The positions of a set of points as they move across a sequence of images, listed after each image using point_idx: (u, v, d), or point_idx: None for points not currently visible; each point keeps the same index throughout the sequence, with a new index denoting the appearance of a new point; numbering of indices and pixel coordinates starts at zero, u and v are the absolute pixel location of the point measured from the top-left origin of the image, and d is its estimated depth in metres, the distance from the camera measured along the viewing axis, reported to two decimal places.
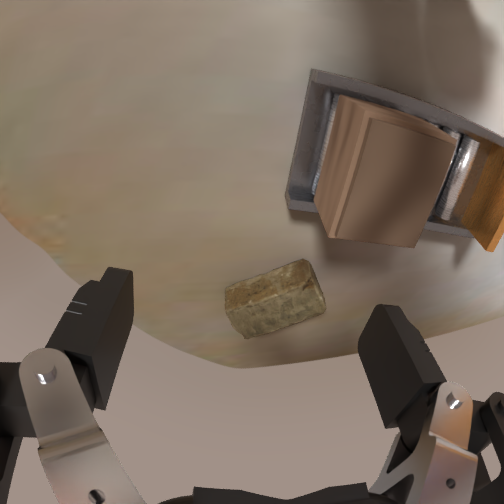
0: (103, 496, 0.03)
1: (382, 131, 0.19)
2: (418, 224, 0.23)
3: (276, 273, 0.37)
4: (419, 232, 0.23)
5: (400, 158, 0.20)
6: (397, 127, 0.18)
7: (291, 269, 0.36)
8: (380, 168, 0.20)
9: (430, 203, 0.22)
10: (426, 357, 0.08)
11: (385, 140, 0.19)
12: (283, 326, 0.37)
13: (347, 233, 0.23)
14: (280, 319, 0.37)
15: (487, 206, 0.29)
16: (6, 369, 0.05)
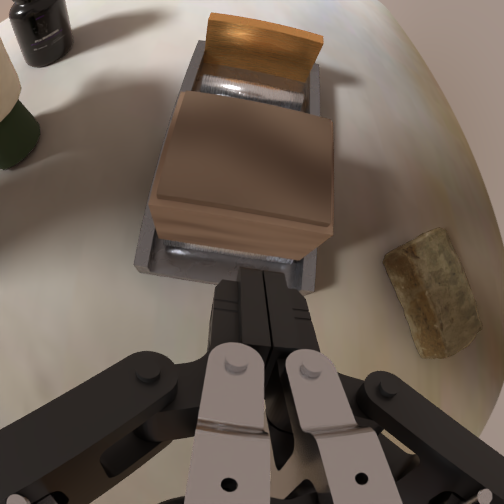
0: (231, 487, 0.04)
1: (171, 179, 0.16)
2: (297, 118, 0.18)
3: (401, 294, 0.27)
4: (308, 115, 0.19)
5: (206, 152, 0.17)
6: (166, 161, 0.16)
7: (395, 275, 0.27)
8: (223, 175, 0.17)
9: (265, 108, 0.18)
10: (292, 322, 0.08)
11: (183, 174, 0.16)
12: (465, 280, 0.24)
13: (322, 209, 0.17)
14: (457, 284, 0.24)
15: (275, 53, 0.28)
16: (177, 371, 0.07)
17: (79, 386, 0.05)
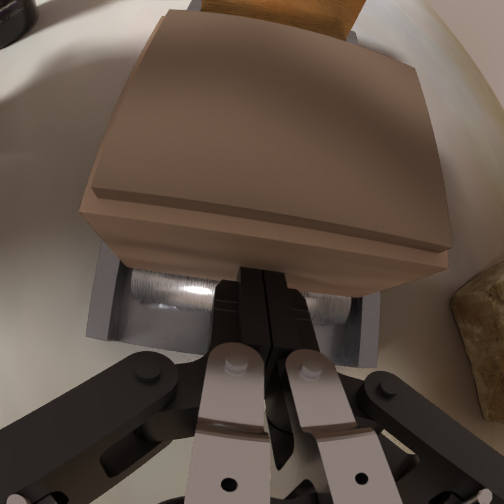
0: (231, 487, 0.04)
1: (126, 154, 0.07)
2: (366, 57, 0.09)
3: (473, 348, 0.17)
4: (381, 57, 0.09)
5: (204, 98, 0.08)
6: (117, 119, 0.07)
7: (468, 323, 0.17)
8: (241, 144, 0.07)
9: (312, 36, 0.09)
10: (292, 322, 0.08)
11: (153, 142, 0.07)
12: None
13: (436, 218, 0.08)
14: None
15: (299, 12, 0.18)
16: (178, 371, 0.07)
17: (79, 386, 0.05)
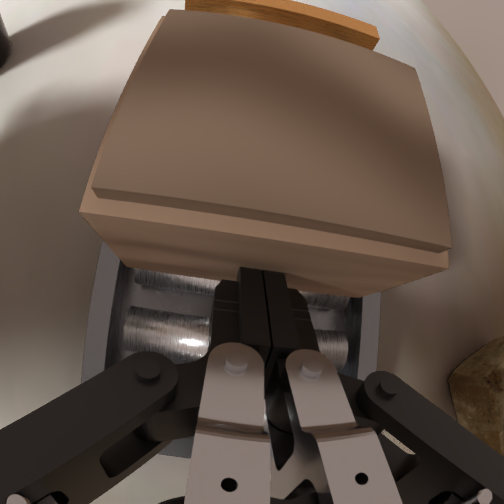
0: (231, 487, 0.04)
1: (126, 154, 0.07)
2: (366, 58, 0.09)
3: (465, 423, 0.15)
4: (382, 57, 0.09)
5: (204, 99, 0.08)
6: (118, 119, 0.07)
7: (463, 401, 0.15)
8: (241, 144, 0.07)
9: (312, 36, 0.09)
10: (292, 322, 0.08)
11: (153, 142, 0.07)
12: None
13: (436, 219, 0.08)
14: None
15: None
16: (177, 371, 0.07)
17: (79, 386, 0.05)
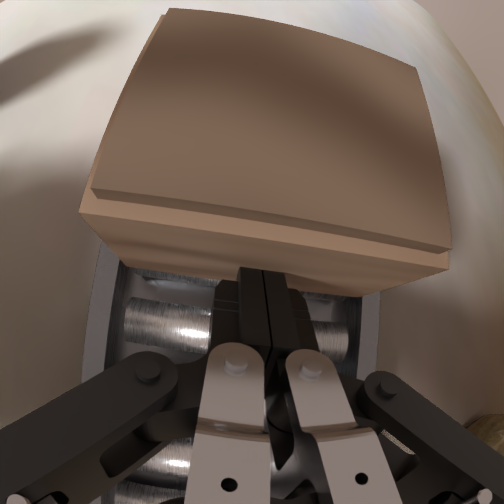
0: (231, 487, 0.04)
1: (126, 155, 0.07)
2: (367, 57, 0.09)
3: None
4: (382, 56, 0.09)
5: (204, 98, 0.07)
6: (117, 119, 0.07)
7: None
8: (241, 144, 0.07)
9: (313, 36, 0.09)
10: (292, 322, 0.08)
11: (153, 143, 0.07)
12: None
13: (436, 220, 0.08)
14: None
15: None
16: (178, 371, 0.07)
17: (79, 386, 0.05)
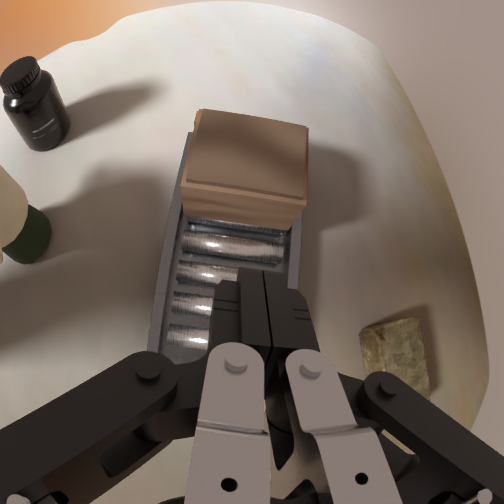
0: (231, 487, 0.04)
1: (196, 169, 0.24)
2: (281, 126, 0.27)
3: (366, 365, 0.31)
4: (289, 124, 0.27)
5: (218, 151, 0.25)
6: (191, 158, 0.25)
7: (365, 348, 0.31)
8: (230, 166, 0.25)
9: (259, 120, 0.26)
10: (292, 322, 0.08)
11: (204, 166, 0.24)
12: (425, 366, 0.28)
13: (297, 187, 0.25)
14: (415, 368, 0.28)
15: None
16: (178, 371, 0.07)
17: (79, 386, 0.05)
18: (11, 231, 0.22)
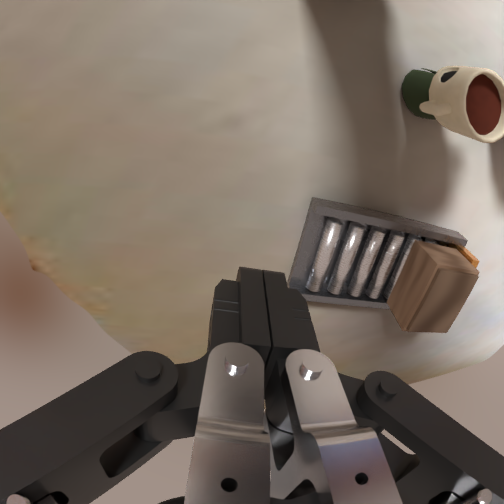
0: (231, 487, 0.04)
1: (443, 275, 0.33)
2: (451, 320, 0.36)
3: None
4: (451, 324, 0.37)
5: (449, 287, 0.34)
6: (451, 272, 0.32)
7: None
8: (438, 294, 0.34)
9: (459, 308, 0.35)
10: (292, 322, 0.08)
11: (444, 280, 0.33)
12: None
13: (414, 328, 0.36)
14: None
15: None
16: (178, 371, 0.07)
17: (79, 386, 0.05)
18: (442, 121, 0.26)
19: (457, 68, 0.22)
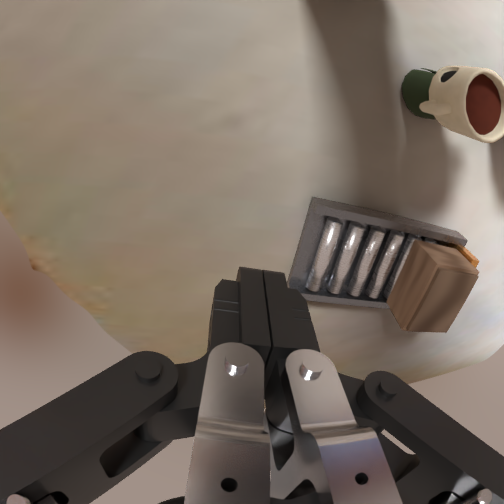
0: (231, 487, 0.04)
1: (443, 275, 0.33)
2: (451, 319, 0.36)
3: None
4: (450, 323, 0.37)
5: (449, 287, 0.34)
6: (451, 272, 0.32)
7: None
8: (438, 294, 0.34)
9: (459, 308, 0.35)
10: (292, 322, 0.08)
11: (443, 279, 0.33)
12: None
13: (413, 328, 0.36)
14: None
15: None
16: (178, 371, 0.07)
17: (79, 386, 0.05)
18: (442, 121, 0.26)
19: (457, 68, 0.22)
